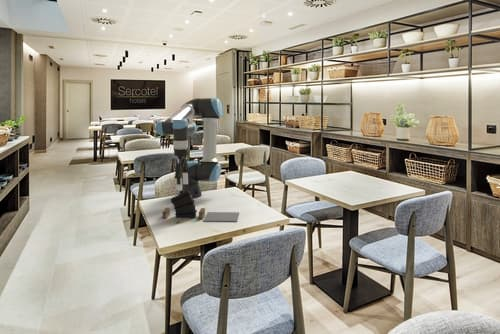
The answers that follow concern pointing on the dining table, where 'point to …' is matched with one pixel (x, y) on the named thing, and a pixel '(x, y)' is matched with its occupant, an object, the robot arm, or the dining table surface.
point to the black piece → (184, 205)
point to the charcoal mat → (221, 217)
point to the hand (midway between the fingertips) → (182, 187)
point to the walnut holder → (167, 213)
